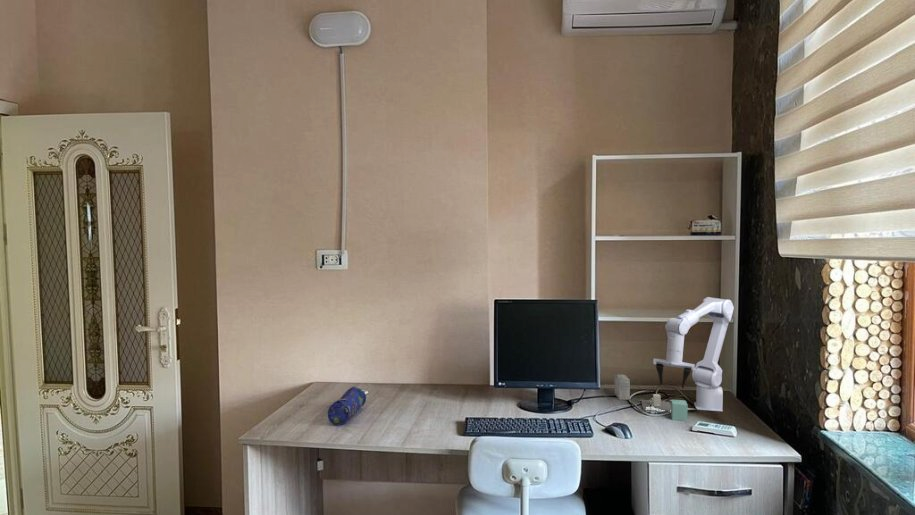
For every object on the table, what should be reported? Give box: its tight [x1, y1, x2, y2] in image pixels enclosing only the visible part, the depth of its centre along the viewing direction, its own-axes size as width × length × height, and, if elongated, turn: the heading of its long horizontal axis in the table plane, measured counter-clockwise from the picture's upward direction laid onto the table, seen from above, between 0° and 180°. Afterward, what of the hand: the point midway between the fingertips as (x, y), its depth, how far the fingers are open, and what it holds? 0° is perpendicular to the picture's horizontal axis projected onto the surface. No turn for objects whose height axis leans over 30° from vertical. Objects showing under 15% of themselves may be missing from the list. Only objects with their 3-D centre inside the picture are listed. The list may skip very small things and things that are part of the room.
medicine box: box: [614, 374, 631, 401], centre depth 237 cm, size 8×4×9 cm, turn 179°
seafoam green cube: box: [670, 399, 689, 422], centre depth 212 cm, size 5×5×6 cm
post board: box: [640, 393, 671, 411], centre depth 225 cm, size 11×11×5 cm
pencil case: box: [327, 386, 367, 427], centre depth 216 cm, size 22×9×10 cm, turn 171°
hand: (671, 385), depth 212 cm, fingers open, 7 cm apart
